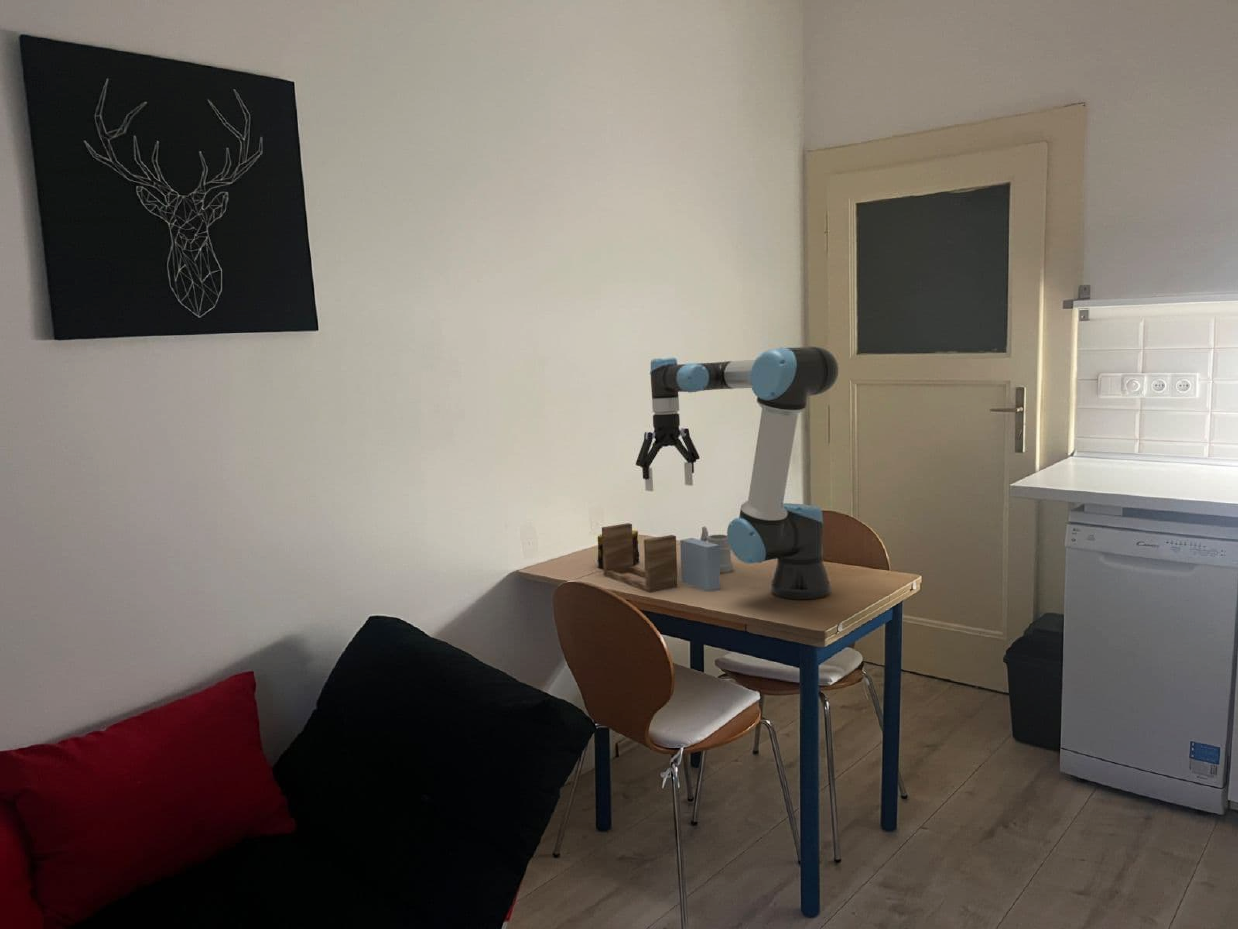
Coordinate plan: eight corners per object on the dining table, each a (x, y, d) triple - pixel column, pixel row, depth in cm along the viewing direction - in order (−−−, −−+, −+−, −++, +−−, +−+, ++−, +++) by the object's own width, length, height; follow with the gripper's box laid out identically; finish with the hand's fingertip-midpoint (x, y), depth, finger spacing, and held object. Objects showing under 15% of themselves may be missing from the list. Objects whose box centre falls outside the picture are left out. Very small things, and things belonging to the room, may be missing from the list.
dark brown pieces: (608, 561, 283) (607, 529, 281) (640, 562, 279) (639, 530, 278) (597, 569, 273) (595, 536, 272) (629, 570, 270) (628, 537, 268)
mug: (719, 575, 261) (718, 533, 259) (690, 568, 270) (689, 527, 268) (738, 570, 265) (737, 529, 264) (709, 563, 274) (708, 523, 273)
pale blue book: (719, 589, 246) (718, 545, 244) (708, 591, 244) (706, 547, 242) (693, 580, 256) (692, 537, 255) (681, 582, 254) (680, 539, 253)
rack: (677, 586, 250) (675, 536, 248) (649, 592, 245) (648, 540, 243) (630, 570, 270) (628, 523, 268) (603, 575, 265) (601, 527, 264)
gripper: (694, 409, 268) (697, 481, 271) (621, 416, 255) (625, 491, 258) (709, 410, 262) (712, 484, 264) (635, 416, 249) (639, 494, 251)
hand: (669, 488), depth 261 cm, fingers open, 13 cm apart
